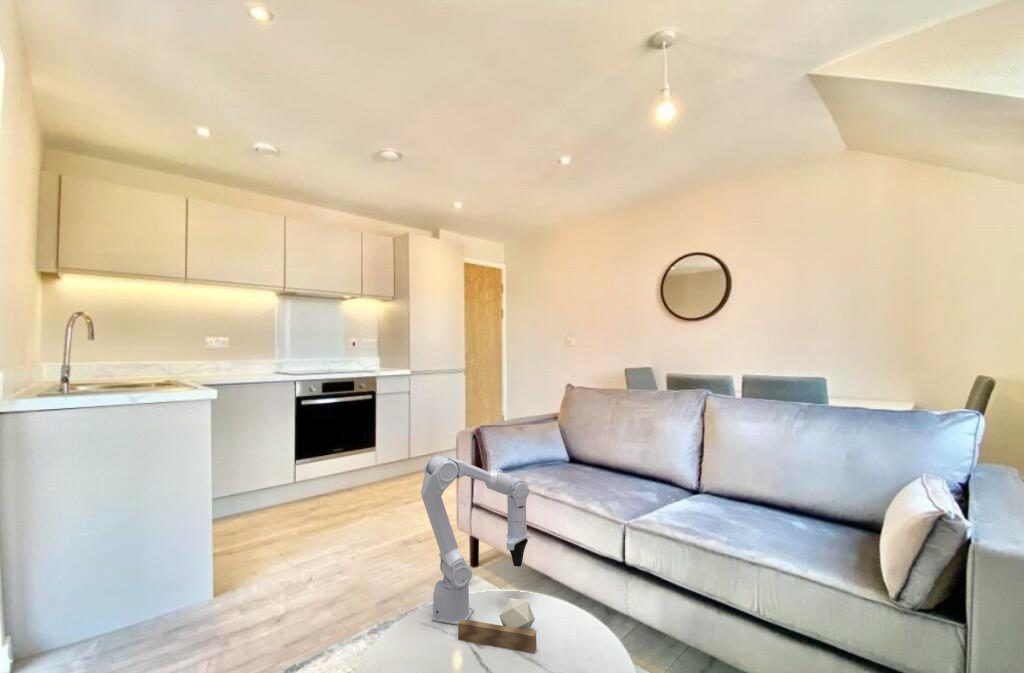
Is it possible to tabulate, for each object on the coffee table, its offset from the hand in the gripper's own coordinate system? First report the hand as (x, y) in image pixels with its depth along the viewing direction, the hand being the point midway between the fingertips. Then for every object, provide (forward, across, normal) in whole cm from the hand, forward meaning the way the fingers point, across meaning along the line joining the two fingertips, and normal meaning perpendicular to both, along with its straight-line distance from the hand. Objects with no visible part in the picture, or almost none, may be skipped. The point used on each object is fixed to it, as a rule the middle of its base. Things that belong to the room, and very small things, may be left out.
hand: (517, 565), depth 130 cm
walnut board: (+9, -22, -1) cm, 24 cm away
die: (+10, -17, -5) cm, 20 cm away
